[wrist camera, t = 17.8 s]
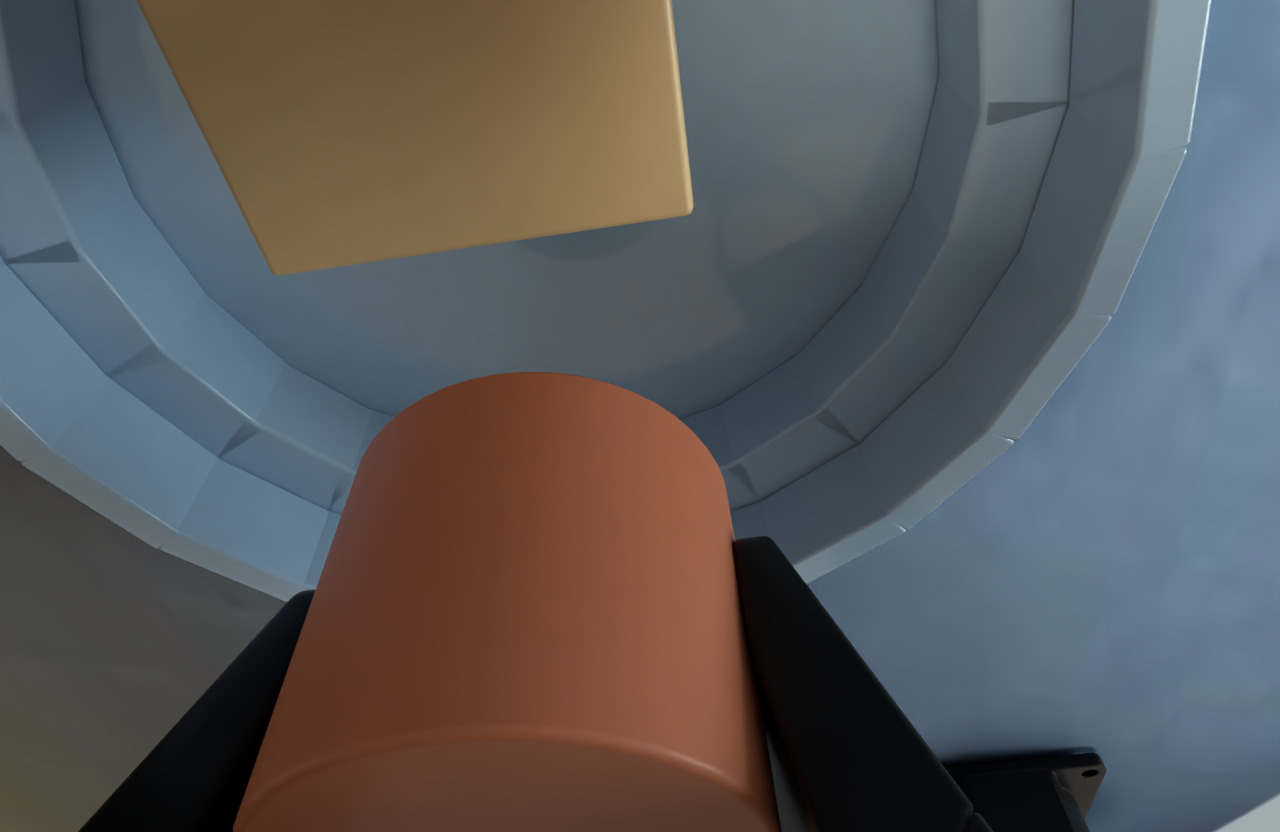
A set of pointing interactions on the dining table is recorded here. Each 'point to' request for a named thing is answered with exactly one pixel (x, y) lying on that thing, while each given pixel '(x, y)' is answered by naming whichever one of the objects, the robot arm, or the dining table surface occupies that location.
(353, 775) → the terracotta cylinder
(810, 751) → the robot arm
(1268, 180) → the dining table surface
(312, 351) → the bowl
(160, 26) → the birch cube
